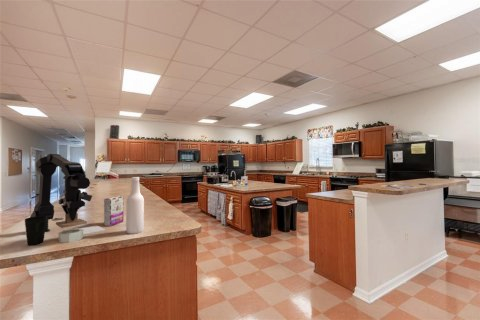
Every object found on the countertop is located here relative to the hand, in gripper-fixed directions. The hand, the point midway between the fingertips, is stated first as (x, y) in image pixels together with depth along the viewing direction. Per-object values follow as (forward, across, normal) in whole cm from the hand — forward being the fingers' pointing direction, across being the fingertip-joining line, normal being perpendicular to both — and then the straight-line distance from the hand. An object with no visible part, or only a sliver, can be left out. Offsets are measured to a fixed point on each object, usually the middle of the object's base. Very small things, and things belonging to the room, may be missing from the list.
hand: (71, 219), depth 111 cm
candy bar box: (+10, +15, -26) cm, 32 cm away
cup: (+10, +6, +12) cm, 17 cm away
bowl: (+10, 0, 0) cm, 10 cm away
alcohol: (+10, -12, -26) cm, 30 cm away
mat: (+10, +10, -11) cm, 18 cm away
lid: (+2, 0, 0) cm, 2 cm away
